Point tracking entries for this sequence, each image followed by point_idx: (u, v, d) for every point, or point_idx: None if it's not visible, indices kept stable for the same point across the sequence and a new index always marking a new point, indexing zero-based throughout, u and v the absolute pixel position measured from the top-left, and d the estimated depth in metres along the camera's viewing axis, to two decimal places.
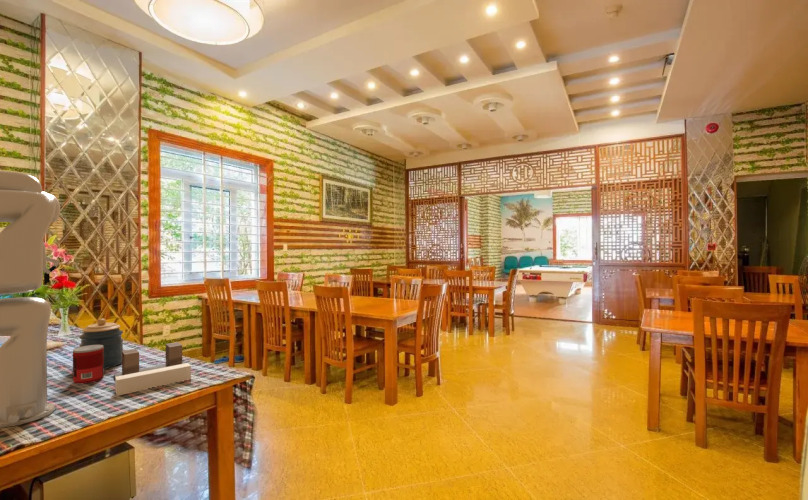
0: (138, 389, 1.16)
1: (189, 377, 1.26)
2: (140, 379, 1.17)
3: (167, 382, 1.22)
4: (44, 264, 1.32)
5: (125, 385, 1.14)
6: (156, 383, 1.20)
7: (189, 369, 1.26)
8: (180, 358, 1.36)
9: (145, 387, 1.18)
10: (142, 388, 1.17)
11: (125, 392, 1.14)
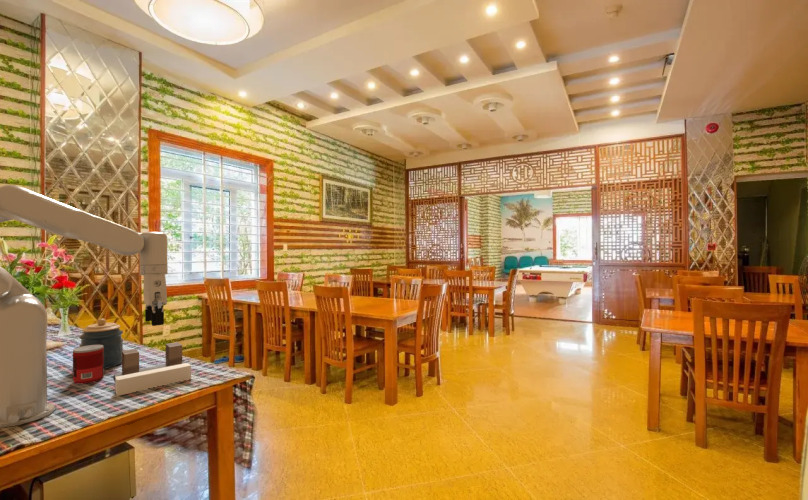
0: (138, 389, 1.16)
1: (189, 377, 1.26)
2: (140, 379, 1.17)
3: (167, 382, 1.22)
4: None
5: (125, 385, 1.14)
6: (156, 382, 1.20)
7: (189, 369, 1.26)
8: (180, 358, 1.36)
9: (145, 387, 1.18)
10: (142, 388, 1.17)
11: (125, 392, 1.14)
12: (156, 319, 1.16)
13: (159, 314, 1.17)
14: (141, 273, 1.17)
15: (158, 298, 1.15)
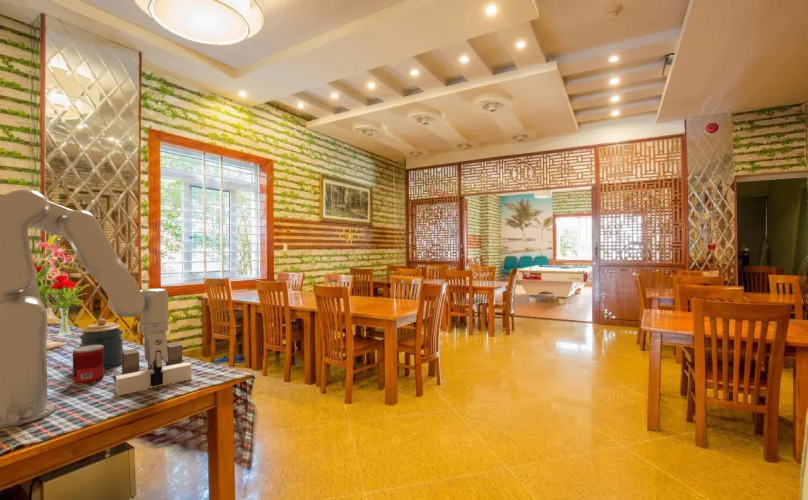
0: (139, 388, 1.16)
1: (189, 376, 1.26)
2: (141, 379, 1.17)
3: (168, 381, 1.22)
4: None
5: (126, 384, 1.14)
6: None
7: (189, 368, 1.26)
8: (180, 358, 1.36)
9: (146, 386, 1.18)
10: (143, 387, 1.17)
11: (126, 391, 1.14)
12: (155, 380, 1.18)
13: (158, 374, 1.19)
14: (142, 331, 1.17)
15: (158, 363, 1.16)
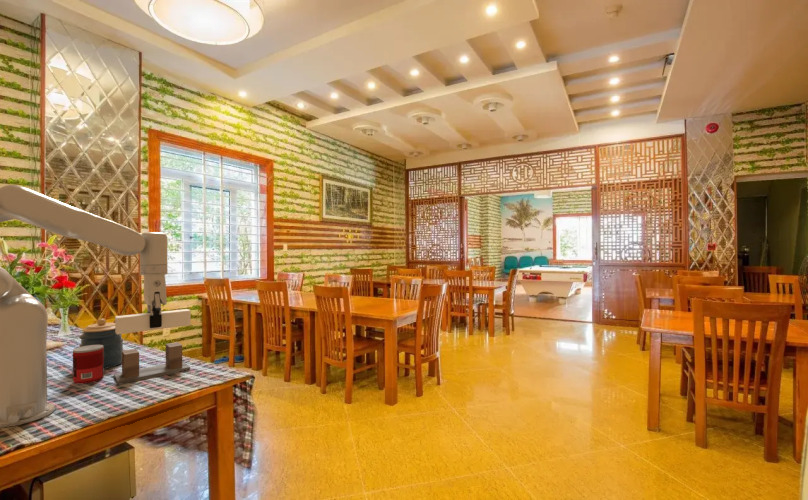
0: (138, 329, 1.17)
1: (189, 322, 1.27)
2: (140, 320, 1.17)
3: (167, 325, 1.22)
4: None
5: (125, 324, 1.15)
6: None
7: (189, 314, 1.27)
8: (180, 358, 1.36)
9: (145, 328, 1.18)
10: (142, 328, 1.18)
11: (125, 331, 1.15)
12: (154, 321, 1.19)
13: (157, 316, 1.19)
14: (141, 273, 1.18)
15: (157, 303, 1.17)
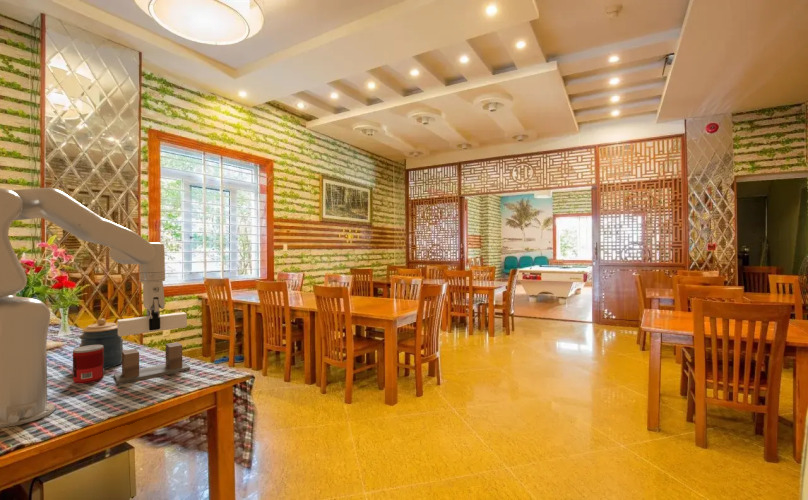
0: (139, 331, 1.28)
1: (185, 324, 1.38)
2: (140, 322, 1.28)
3: (165, 327, 1.33)
4: None
5: (126, 327, 1.25)
6: None
7: (185, 316, 1.38)
8: (180, 358, 1.36)
9: (145, 330, 1.29)
10: (142, 330, 1.29)
11: (127, 333, 1.26)
12: (153, 324, 1.30)
13: (156, 320, 1.30)
14: (141, 280, 1.29)
15: (155, 308, 1.27)
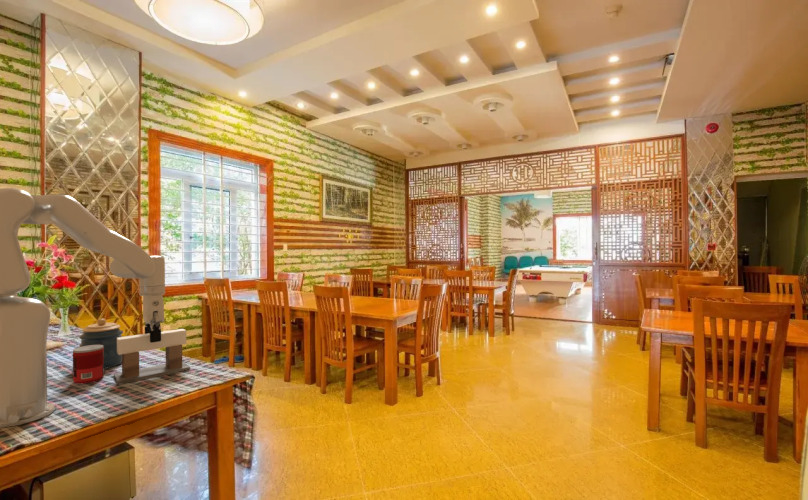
0: (138, 349, 1.28)
1: (184, 341, 1.38)
2: (140, 340, 1.28)
3: (164, 344, 1.33)
4: None
5: (126, 345, 1.25)
6: (154, 344, 1.31)
7: (184, 333, 1.37)
8: (180, 358, 1.36)
9: (144, 348, 1.29)
10: (141, 348, 1.28)
11: (126, 351, 1.25)
12: (154, 336, 1.28)
13: (157, 332, 1.28)
14: (141, 294, 1.29)
15: (156, 318, 1.26)
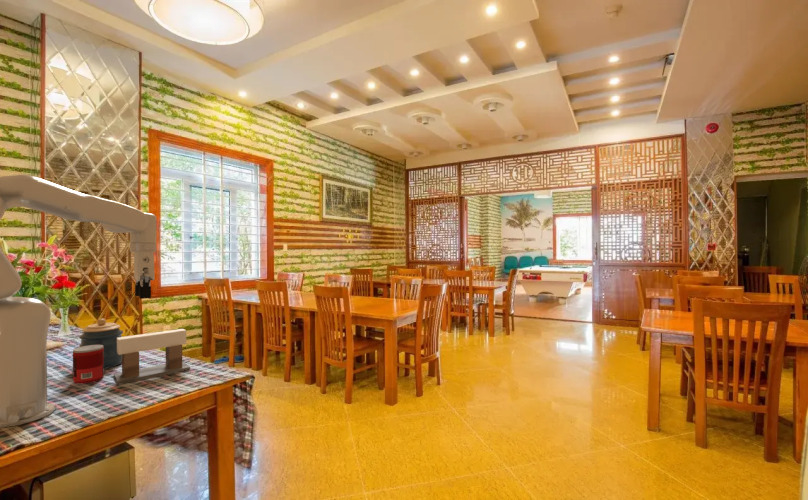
0: (138, 349, 1.28)
1: (184, 341, 1.38)
2: (140, 340, 1.28)
3: (164, 344, 1.33)
4: None
5: (126, 345, 1.25)
6: (154, 344, 1.31)
7: (184, 333, 1.37)
8: (180, 358, 1.36)
9: (144, 348, 1.29)
10: (141, 348, 1.28)
11: (126, 351, 1.25)
12: (143, 292, 1.26)
13: (146, 288, 1.27)
14: (131, 250, 1.28)
15: (145, 273, 1.25)
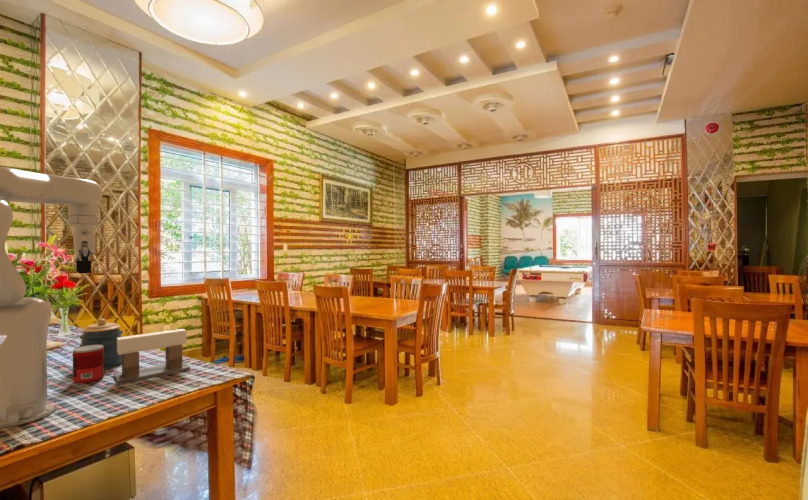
0: (138, 349, 1.28)
1: (184, 341, 1.38)
2: (140, 340, 1.28)
3: (164, 344, 1.33)
4: None
5: (126, 345, 1.25)
6: (154, 344, 1.31)
7: (184, 333, 1.37)
8: (180, 358, 1.36)
9: (144, 348, 1.29)
10: (141, 348, 1.28)
11: (126, 351, 1.25)
12: (82, 267, 1.21)
13: (86, 262, 1.21)
14: (69, 223, 1.22)
15: (84, 246, 1.19)
